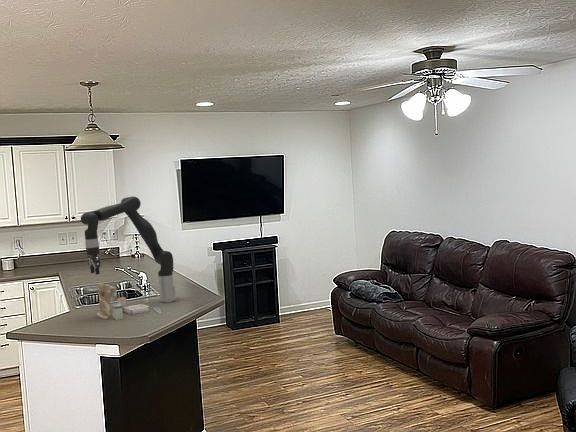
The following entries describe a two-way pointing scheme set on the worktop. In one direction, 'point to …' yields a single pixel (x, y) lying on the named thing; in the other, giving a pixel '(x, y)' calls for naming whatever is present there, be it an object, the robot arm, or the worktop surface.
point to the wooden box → (106, 300)
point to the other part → (117, 312)
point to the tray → (136, 309)
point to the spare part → (122, 302)
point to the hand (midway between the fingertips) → (95, 273)
